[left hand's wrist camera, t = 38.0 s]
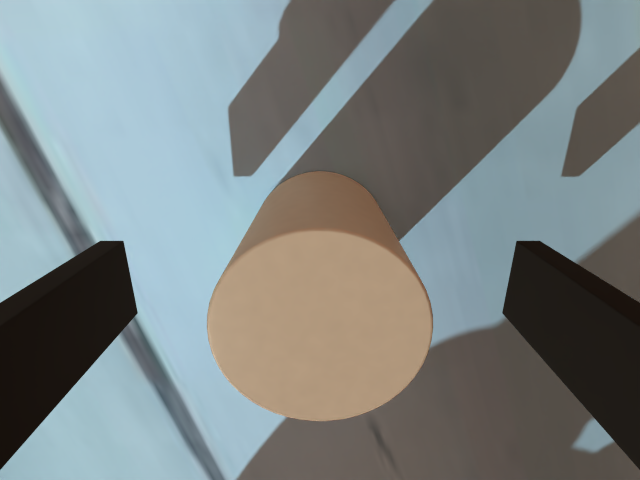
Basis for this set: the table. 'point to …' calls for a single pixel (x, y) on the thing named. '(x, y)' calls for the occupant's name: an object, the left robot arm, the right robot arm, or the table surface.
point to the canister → (320, 304)
